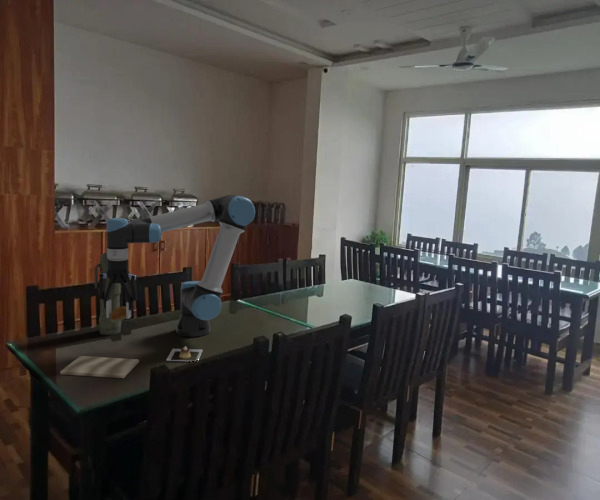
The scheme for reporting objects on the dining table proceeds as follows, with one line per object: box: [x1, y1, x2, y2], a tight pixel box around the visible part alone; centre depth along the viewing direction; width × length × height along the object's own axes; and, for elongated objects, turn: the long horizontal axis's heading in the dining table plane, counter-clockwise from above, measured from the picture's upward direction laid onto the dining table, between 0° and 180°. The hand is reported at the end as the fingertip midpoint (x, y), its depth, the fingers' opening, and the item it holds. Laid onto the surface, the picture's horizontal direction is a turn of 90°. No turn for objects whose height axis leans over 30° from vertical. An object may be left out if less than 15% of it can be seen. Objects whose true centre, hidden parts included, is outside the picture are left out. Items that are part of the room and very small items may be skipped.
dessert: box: [165, 345, 203, 363], centre depth 179 cm, size 12×12×5 cm
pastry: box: [110, 305, 127, 321], centre depth 177 cm, size 9×7×4 cm
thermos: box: [93, 252, 123, 336], centre depth 199 cm, size 9×12×35 cm
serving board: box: [59, 355, 140, 379], centre depth 165 cm, size 22×14×1 cm, turn 88°
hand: (118, 317), depth 177 cm, fingers closed on pastry, 7 cm apart
